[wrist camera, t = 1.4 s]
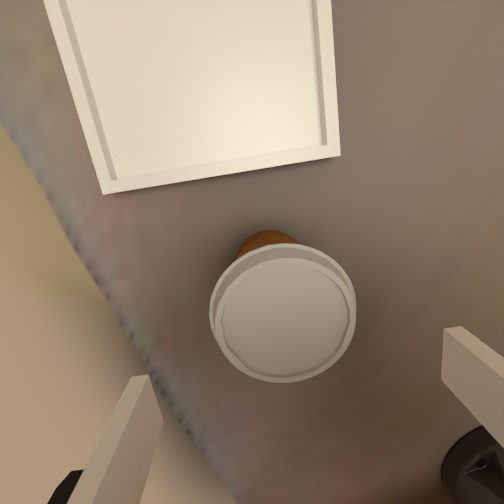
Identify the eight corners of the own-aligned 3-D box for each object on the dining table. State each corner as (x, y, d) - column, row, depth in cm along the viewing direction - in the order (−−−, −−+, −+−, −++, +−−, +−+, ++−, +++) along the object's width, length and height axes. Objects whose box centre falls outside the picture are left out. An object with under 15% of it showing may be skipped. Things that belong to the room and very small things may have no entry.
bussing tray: (331, 156, 26) (340, 155, 24) (115, 191, 26) (102, 194, 24) (310, -141, 20) (319, -181, 18) (33, -90, 21) (5, -123, 18)
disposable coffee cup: (213, 221, 28) (192, 262, 16) (312, 207, 27) (362, 238, 16) (229, 309, 30) (221, 398, 19) (319, 297, 30) (366, 378, 19)
